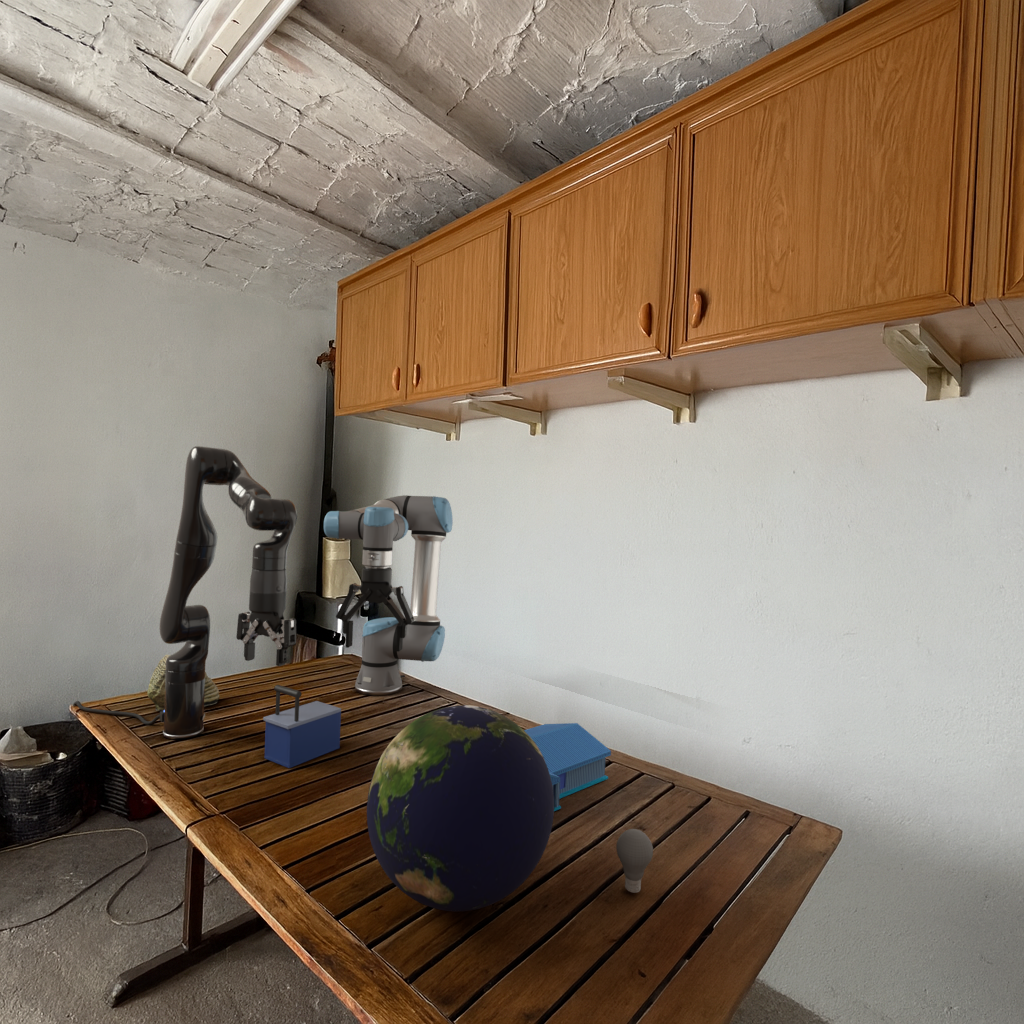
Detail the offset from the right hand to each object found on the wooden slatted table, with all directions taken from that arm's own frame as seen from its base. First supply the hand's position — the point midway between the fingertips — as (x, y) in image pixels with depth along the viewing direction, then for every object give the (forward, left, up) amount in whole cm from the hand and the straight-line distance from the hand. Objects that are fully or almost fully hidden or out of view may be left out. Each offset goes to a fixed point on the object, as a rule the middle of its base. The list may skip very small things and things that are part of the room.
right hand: (374, 648), depth 164 cm
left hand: (+27, -15, +2) cm, 31 cm away
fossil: (-13, -61, -25) cm, 67 cm away
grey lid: (+11, -13, -15) cm, 23 cm away
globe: (+57, +36, -25) cm, 72 cm away
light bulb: (+51, +64, -25) cm, 85 cm away
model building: (+17, +42, -25) cm, 51 cm away
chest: (+11, -13, -25) cm, 30 cm away
